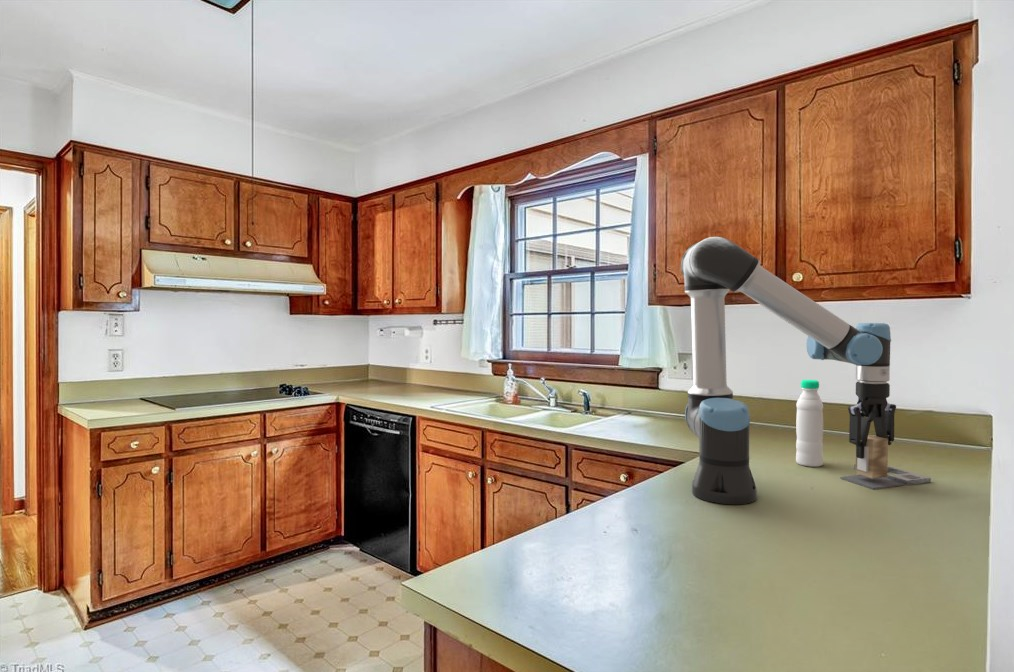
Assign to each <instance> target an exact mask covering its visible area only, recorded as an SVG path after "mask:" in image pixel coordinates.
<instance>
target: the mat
mask: <svg viewBox="0 0 1014 672" xmlns="http://www.w3.org/2000/svg"><path fill="white" fill-rule="evenodd" d="M840 479H841V480H844V481H847V482H851V483H853V484H856V485H859V486H862V487H865V488H868V489H869V490H870V489H871V490H878V489H879V490H880V489H887V488H888V489H889V488H895V487H904V486H905V485H904V484H902V483H899V482H895V481H892V480H889V479H886V478H873V479H872V478H869V477H866V476H862V475H859V474H854V475H846V476H840Z"/></svg>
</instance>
